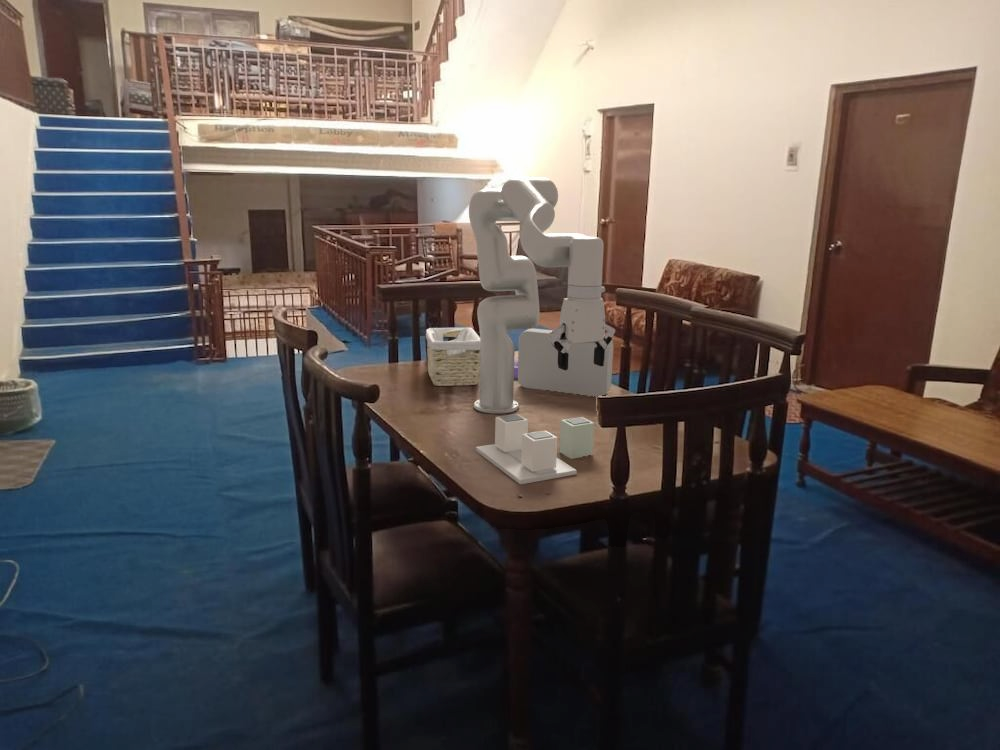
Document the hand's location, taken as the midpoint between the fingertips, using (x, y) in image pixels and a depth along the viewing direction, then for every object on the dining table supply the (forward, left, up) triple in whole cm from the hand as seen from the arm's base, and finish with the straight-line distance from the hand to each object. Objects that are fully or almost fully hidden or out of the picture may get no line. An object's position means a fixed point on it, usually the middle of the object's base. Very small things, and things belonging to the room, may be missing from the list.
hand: (580, 367), depth 168 cm
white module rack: (0, -14, -21) cm, 25 cm away
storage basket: (-75, +1, -22) cm, 78 cm away
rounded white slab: (-48, +26, -21) cm, 59 cm away
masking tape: (-70, +24, -22) cm, 77 cm away
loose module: (0, 0, -21) cm, 21 cm away
